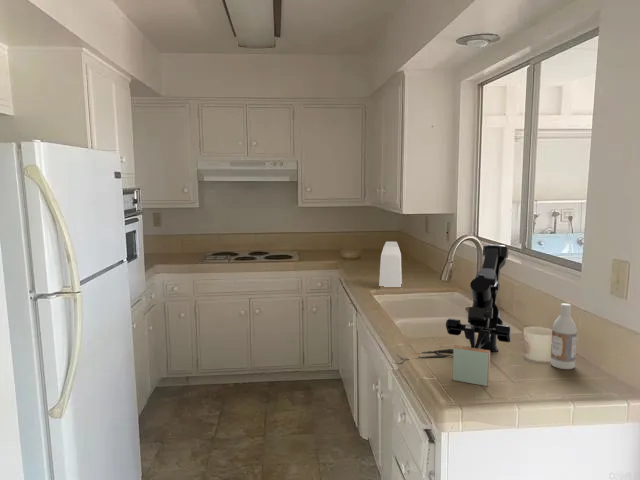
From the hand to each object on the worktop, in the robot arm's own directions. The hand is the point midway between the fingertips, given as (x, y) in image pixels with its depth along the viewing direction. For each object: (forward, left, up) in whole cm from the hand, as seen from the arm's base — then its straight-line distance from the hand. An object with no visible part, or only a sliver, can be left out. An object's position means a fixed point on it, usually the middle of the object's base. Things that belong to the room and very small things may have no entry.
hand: (473, 354), depth 146 cm
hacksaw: (-15, -14, -8) cm, 22 cm away
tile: (+4, -1, -7) cm, 8 cm away
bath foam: (-15, +29, -7) cm, 33 cm away
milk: (-126, -31, -7) cm, 130 cm away
